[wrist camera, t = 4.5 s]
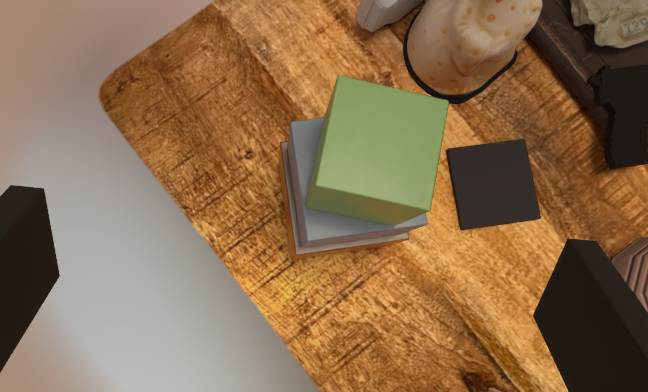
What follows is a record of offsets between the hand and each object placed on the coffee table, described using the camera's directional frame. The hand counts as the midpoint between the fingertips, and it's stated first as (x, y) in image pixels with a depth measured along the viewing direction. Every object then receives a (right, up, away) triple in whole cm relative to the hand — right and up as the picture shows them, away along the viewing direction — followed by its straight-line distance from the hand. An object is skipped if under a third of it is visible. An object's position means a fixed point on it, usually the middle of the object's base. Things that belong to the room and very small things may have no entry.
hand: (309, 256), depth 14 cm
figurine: (+14, +17, +41) cm, 47 cm away
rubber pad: (+17, +3, +39) cm, 43 cm away
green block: (+3, +3, +22) cm, 22 cm away
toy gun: (+34, +5, +38) cm, 51 cm away
